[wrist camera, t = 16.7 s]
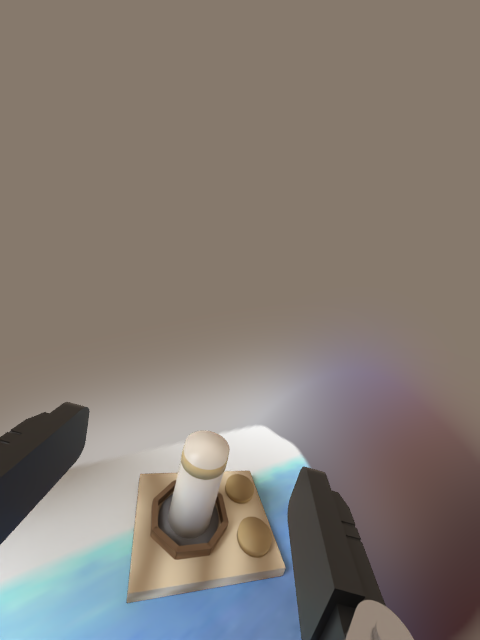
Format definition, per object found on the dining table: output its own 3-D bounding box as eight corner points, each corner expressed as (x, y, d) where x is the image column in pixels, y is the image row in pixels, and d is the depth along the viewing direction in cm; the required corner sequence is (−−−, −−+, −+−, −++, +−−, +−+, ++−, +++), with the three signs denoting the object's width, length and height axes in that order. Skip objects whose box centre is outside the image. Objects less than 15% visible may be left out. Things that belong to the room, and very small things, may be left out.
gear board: (126, 603, 24) (129, 585, 23) (139, 481, 36) (141, 467, 35) (282, 575, 29) (288, 560, 28) (247, 477, 41) (251, 465, 40)
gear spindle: (168, 541, 28) (186, 464, 26) (167, 498, 33) (182, 429, 30) (214, 536, 30) (235, 463, 27) (206, 495, 34) (224, 430, 32)
